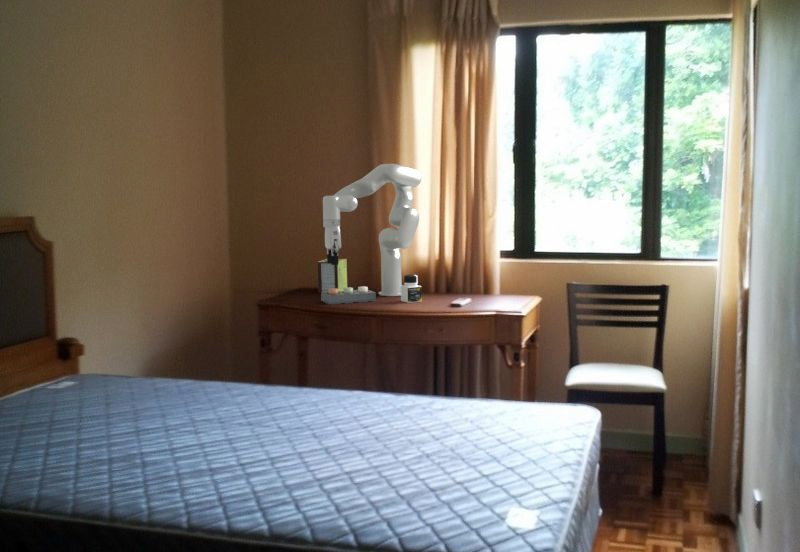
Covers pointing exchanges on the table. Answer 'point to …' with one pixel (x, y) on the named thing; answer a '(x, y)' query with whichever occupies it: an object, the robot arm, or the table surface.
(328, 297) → the console
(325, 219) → the robot arm
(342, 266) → the protein box
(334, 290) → the rust button
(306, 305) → the table surface
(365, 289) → the cream button
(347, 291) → the sage button
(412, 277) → the medicine bottle
